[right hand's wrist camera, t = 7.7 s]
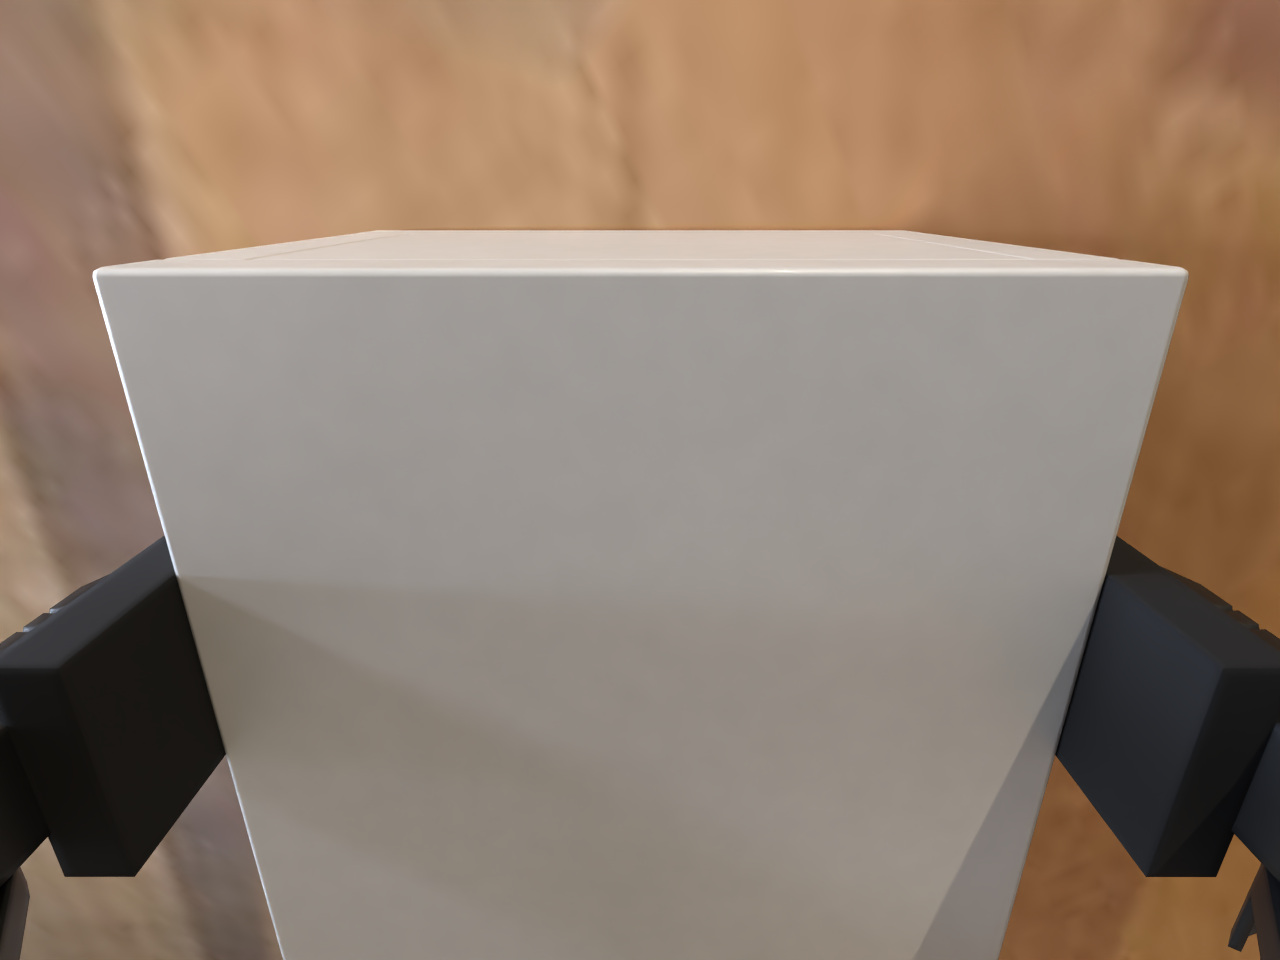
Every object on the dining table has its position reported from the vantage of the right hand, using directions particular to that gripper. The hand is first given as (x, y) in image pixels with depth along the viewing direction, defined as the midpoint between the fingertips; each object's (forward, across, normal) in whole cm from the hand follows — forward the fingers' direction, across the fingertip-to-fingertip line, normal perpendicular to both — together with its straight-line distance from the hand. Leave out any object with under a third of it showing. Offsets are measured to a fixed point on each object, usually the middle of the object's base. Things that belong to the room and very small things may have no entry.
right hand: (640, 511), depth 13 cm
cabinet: (+3, 0, -4) cm, 6 cm away
